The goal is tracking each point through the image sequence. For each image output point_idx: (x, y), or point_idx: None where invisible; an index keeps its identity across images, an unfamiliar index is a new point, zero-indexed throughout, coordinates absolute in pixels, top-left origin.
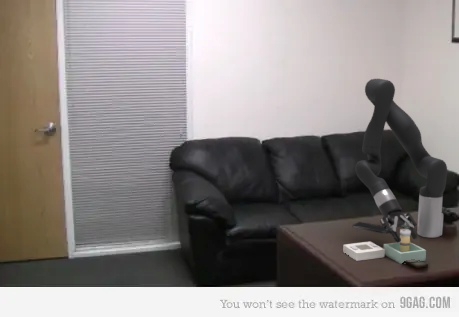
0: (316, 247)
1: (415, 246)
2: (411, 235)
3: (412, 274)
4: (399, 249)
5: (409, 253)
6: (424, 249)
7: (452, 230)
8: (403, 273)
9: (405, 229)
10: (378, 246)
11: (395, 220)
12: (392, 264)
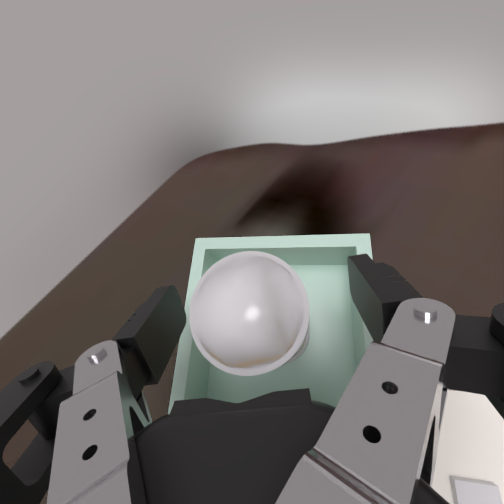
0: None
1: None
2: (174, 343)
3: (370, 149)
4: (304, 342)
5: (304, 238)
6: (194, 249)
7: None
8: (405, 164)
9: (223, 335)
10: (434, 484)
11: (378, 461)
12: (402, 265)
